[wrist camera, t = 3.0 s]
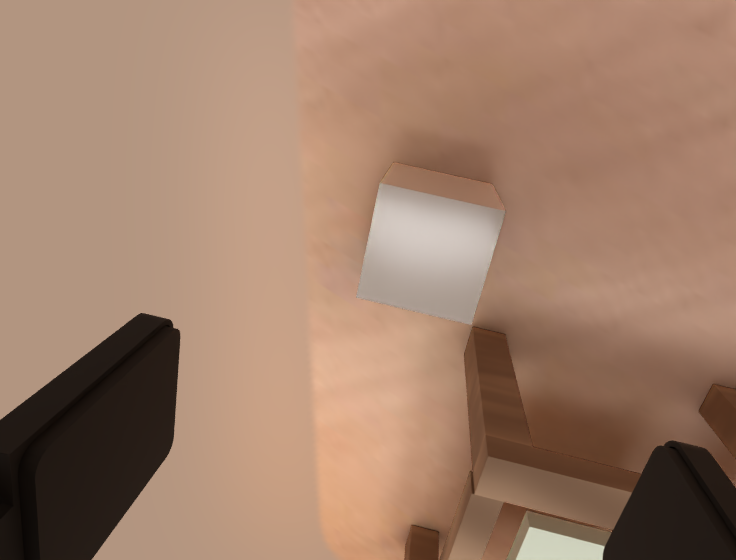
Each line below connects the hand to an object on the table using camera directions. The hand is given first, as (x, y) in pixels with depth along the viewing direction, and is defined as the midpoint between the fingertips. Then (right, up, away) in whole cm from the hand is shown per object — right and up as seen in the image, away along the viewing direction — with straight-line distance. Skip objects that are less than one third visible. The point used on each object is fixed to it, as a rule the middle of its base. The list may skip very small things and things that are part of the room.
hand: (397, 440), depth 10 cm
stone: (+3, +6, +16) cm, 18 cm away
